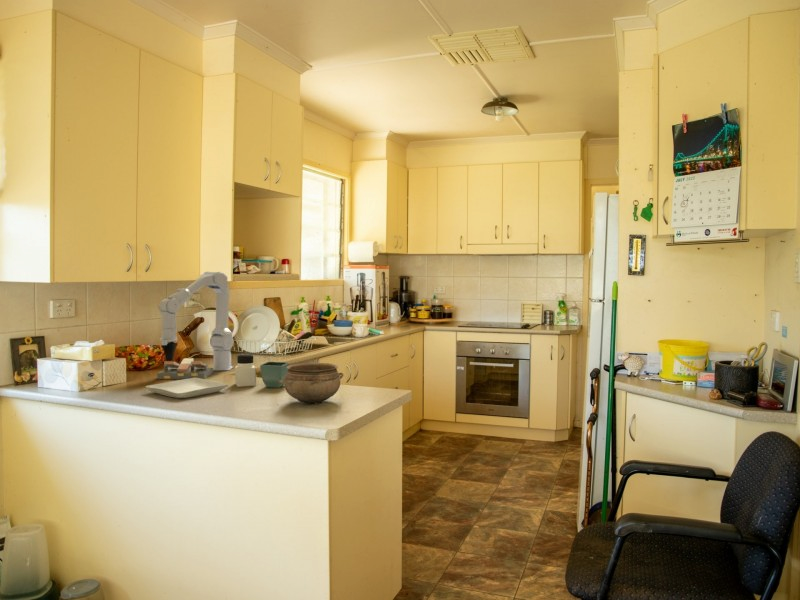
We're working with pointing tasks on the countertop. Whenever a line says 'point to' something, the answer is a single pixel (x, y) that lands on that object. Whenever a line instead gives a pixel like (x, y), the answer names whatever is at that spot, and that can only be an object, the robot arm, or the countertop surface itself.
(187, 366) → the middle rocker
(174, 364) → the left rocker
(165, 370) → the switch unit
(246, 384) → the medicine bottle
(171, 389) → the salad plate
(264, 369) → the flower pot
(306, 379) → the cooking pot
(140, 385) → the countertop surface
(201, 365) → the right rocker
